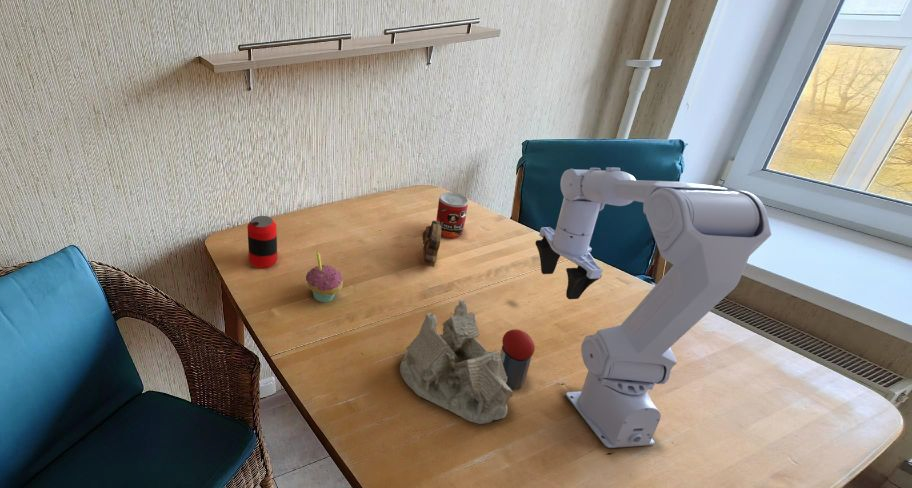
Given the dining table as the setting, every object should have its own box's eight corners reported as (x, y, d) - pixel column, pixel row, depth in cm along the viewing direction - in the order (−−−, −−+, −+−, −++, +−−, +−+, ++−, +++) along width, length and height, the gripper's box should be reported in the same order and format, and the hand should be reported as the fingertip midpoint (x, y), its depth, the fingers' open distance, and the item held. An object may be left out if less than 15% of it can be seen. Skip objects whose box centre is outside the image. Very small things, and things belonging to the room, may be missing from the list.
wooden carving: (417, 240, 121) (421, 209, 118) (434, 242, 120) (438, 211, 117) (421, 276, 106) (425, 242, 103) (440, 278, 105) (445, 244, 102)
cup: (529, 388, 77) (537, 361, 74) (505, 389, 77) (511, 362, 74) (514, 366, 81) (521, 340, 79) (491, 368, 81) (497, 342, 79)
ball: (537, 360, 76) (544, 338, 74) (519, 370, 74) (525, 348, 72) (511, 340, 80) (517, 319, 78) (493, 350, 78) (499, 328, 76)
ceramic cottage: (391, 353, 84) (403, 295, 78) (470, 347, 86) (487, 291, 80) (424, 433, 70) (441, 371, 64) (517, 425, 72) (543, 364, 66)
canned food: (435, 237, 122) (440, 203, 118) (434, 223, 130) (438, 190, 126) (464, 241, 120) (470, 206, 116) (461, 226, 127) (466, 193, 123)
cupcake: (300, 300, 99) (300, 257, 95) (314, 279, 106) (315, 238, 102) (335, 312, 95) (337, 268, 91) (347, 289, 102) (349, 247, 98)
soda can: (243, 258, 115) (241, 220, 111) (266, 248, 119) (264, 210, 115) (260, 272, 109) (258, 232, 105) (282, 261, 114) (282, 222, 109)
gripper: (625, 248, 75) (605, 309, 80) (568, 208, 89) (554, 262, 94) (587, 250, 75) (569, 311, 80) (535, 209, 89) (523, 264, 94)
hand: (559, 285), depth 87 cm, fingers open, 7 cm apart
